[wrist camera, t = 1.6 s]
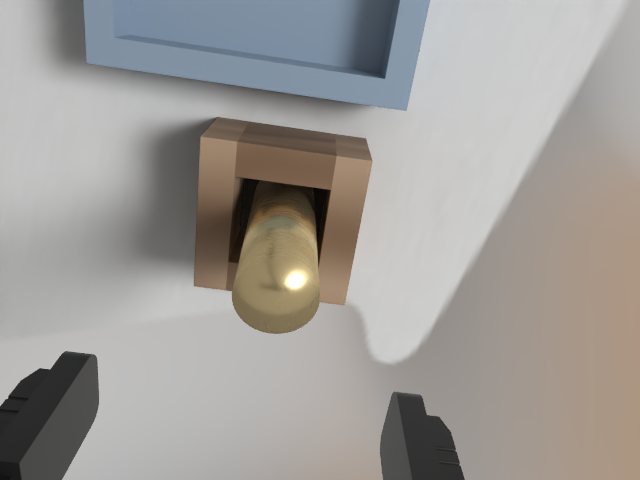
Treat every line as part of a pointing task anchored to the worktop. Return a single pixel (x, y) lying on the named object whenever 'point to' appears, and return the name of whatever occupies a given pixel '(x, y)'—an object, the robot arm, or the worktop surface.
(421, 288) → the worktop surface
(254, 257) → the pin
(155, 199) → the worktop surface
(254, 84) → the tray
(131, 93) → the worktop surface
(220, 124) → the bracket
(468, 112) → the worktop surface
